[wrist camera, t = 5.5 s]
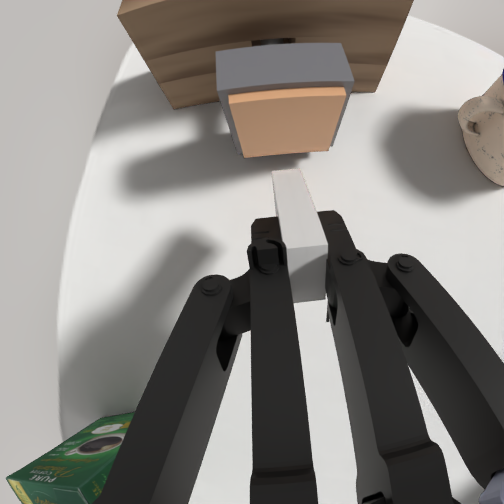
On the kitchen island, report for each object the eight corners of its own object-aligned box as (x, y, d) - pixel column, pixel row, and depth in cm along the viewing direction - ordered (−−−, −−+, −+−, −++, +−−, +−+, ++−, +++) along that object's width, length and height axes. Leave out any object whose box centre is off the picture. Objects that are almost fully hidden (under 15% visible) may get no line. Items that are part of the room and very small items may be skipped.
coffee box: (111, 443, 21) (24, 513, 8) (97, 416, 22) (-1, 475, 9) (185, 431, 21) (112, 532, 8) (171, 402, 21) (80, 488, 8)
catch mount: (375, 92, 23) (415, -6, 11) (173, 109, 24) (116, 15, 12) (358, 47, 23) (382, -46, 12) (176, 62, 25) (133, -27, 13)
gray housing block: (333, 153, 21) (357, 90, 13) (238, 161, 21) (217, 99, 13) (313, 66, 22) (321, -3, 14) (231, 73, 22) (214, 5, 14)
